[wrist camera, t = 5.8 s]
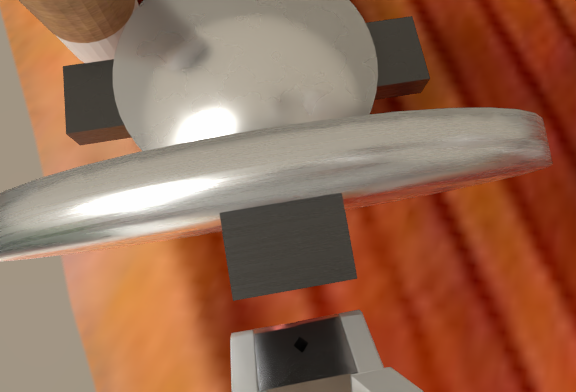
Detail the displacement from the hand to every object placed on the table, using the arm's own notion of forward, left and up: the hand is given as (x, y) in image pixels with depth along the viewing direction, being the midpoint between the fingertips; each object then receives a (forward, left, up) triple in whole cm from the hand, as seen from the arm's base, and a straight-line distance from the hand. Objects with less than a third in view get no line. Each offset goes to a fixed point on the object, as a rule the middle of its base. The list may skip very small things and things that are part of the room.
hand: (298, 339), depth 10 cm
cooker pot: (0, -13, -19) cm, 23 cm away
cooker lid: (0, -5, -3) cm, 5 cm away
